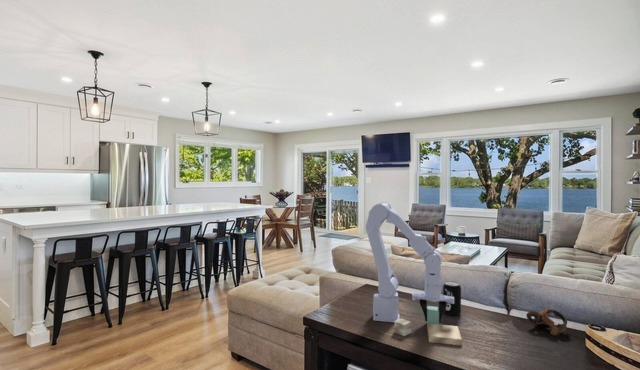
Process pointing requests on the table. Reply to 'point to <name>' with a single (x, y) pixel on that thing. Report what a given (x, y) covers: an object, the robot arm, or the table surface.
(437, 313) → the teal block
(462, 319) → the table surface
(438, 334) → the cream square slab
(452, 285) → the beverage can
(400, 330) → the cream cube
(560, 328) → the rusty metal shackles
